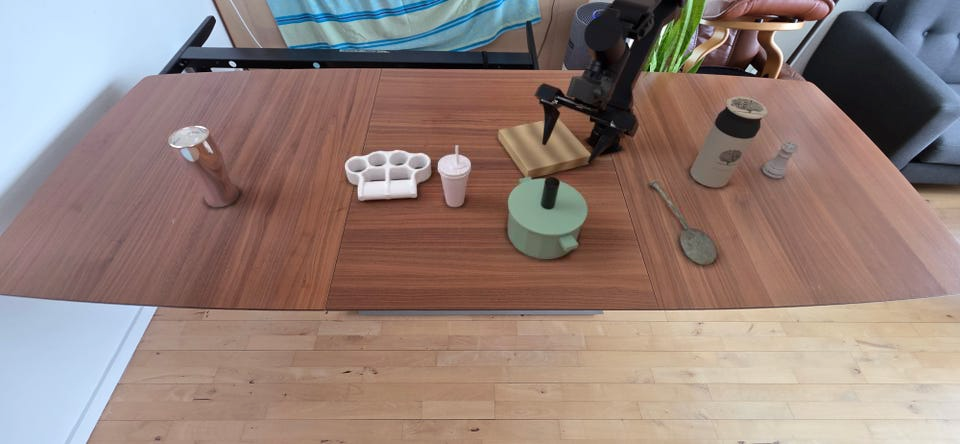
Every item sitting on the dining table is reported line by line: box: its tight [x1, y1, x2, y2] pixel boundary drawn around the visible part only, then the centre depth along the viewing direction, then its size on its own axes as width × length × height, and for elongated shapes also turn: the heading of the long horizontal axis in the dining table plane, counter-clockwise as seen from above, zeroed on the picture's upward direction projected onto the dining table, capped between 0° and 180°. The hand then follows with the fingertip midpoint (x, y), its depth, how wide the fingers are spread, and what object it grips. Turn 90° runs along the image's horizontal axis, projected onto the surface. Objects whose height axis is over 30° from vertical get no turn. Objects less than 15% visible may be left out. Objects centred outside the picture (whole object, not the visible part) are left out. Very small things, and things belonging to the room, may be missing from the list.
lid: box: [507, 176, 589, 236], centre depth 76 cm, size 14×14×7 cm
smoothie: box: [437, 144, 472, 208], centre depth 83 cm, size 6×6×14 cm
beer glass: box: [167, 125, 240, 208], centre depth 82 cm, size 7×7×15 cm
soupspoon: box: [649, 179, 718, 266], centre depth 85 cm, size 22×3×7 cm
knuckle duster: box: [344, 149, 432, 202], centre depth 91 cm, size 3×18×15 cm
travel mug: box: [689, 96, 768, 188], centre depth 90 cm, size 8×8×18 cm
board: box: [497, 118, 591, 179], centre depth 100 cm, size 16×16×2 cm
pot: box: [507, 176, 582, 260], centre depth 81 cm, size 13×19×7 cm
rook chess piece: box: [762, 140, 799, 180], centre depth 95 cm, size 4×4×8 cm
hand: (565, 153), depth 79 cm, fingers open, 9 cm apart
